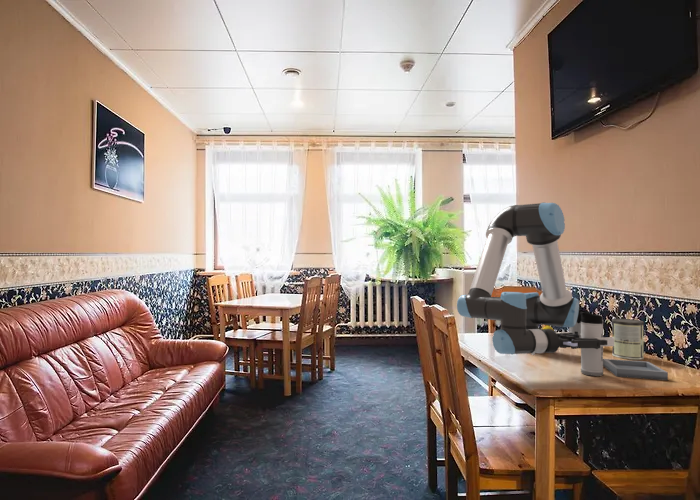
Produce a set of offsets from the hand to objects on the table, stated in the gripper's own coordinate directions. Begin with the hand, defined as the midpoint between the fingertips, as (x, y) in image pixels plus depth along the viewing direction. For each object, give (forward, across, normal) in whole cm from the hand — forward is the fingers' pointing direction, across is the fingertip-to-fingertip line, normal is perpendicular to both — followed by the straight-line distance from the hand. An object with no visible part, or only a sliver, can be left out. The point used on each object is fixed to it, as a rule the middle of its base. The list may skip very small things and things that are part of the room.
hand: (604, 339), depth 137 cm
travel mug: (-5, 0, -11) cm, 12 cm away
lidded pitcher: (+26, -41, -11) cm, 50 cm away
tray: (+10, 0, -11) cm, 15 cm away
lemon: (+13, -48, -11) cm, 51 cm away
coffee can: (+28, -20, -11) cm, 36 cm away
